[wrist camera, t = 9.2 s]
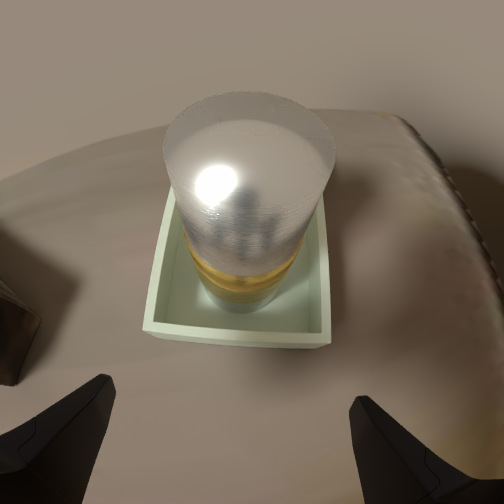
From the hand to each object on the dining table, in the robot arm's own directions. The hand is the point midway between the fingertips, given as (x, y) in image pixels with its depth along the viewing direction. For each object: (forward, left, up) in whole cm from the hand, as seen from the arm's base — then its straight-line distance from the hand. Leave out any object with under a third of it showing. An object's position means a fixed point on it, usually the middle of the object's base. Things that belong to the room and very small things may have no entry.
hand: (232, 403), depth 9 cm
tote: (+10, -6, -10) cm, 15 cm away
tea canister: (+7, -4, -9) cm, 12 cm away
